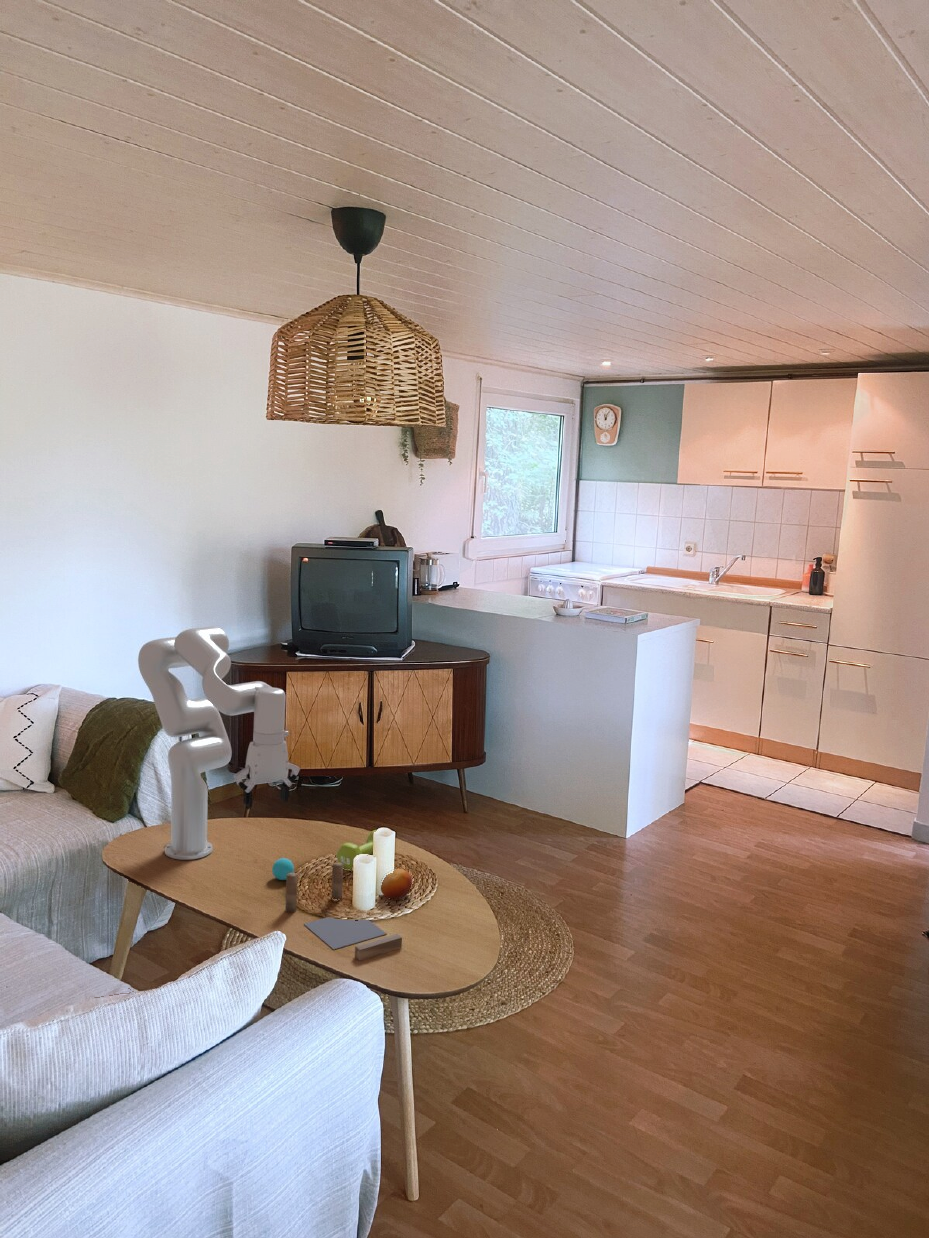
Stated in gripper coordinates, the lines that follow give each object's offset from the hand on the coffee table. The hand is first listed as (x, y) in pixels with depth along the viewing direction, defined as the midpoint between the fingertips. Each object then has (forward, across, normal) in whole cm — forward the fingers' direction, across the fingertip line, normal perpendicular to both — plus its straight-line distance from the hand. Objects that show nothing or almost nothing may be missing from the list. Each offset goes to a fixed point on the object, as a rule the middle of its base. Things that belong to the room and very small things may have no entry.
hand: (266, 803), depth 233 cm
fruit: (+22, -26, +21) cm, 40 cm away
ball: (+19, -6, -1) cm, 20 cm away
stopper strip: (+21, -8, +44) cm, 50 cm away
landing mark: (+22, -7, +31) cm, 38 cm away
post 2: (+22, -13, +16) cm, 30 cm away
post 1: (+22, 0, +16) cm, 27 cm away
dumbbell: (+22, -30, -1) cm, 37 cm away
